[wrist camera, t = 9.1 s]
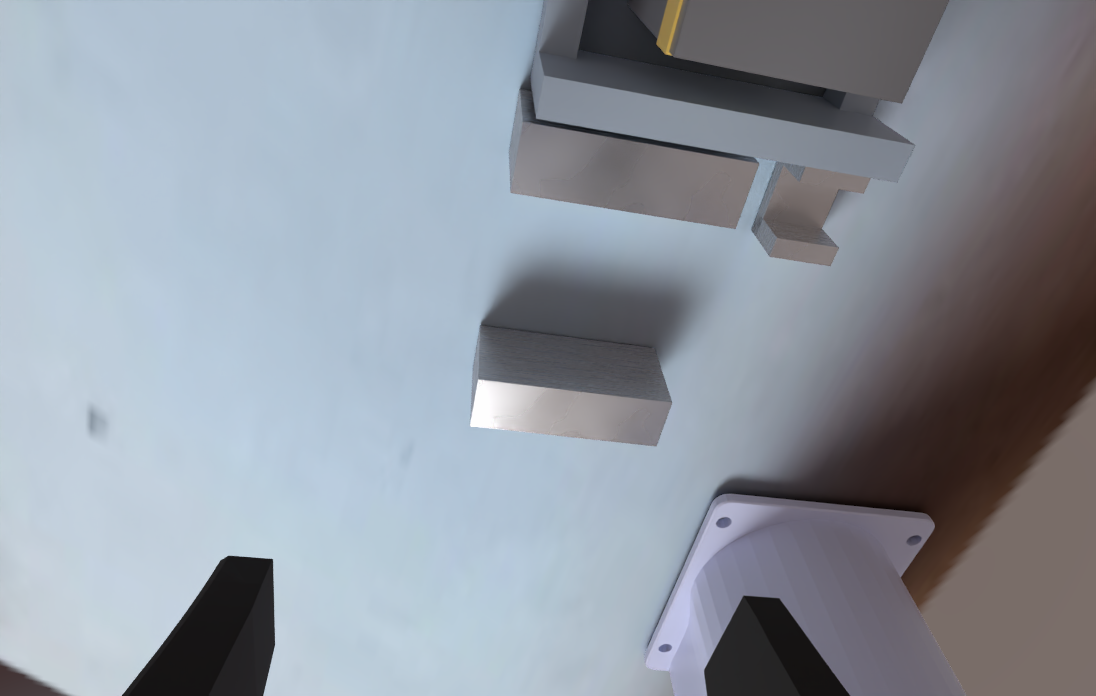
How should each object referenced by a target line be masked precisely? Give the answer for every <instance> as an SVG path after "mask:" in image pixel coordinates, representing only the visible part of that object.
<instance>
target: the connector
mask: <svg viewBox="0 0 1096 696" xmlns="http://www.w3.org/2000/svg"><path fill="white" fill-rule="evenodd" d="M948 2H949V0H628V4H627V5H628V7H629V8H630V9H631V10H632V11H633V12H634V13H635V14H636V16H637V17H638V18H639V19H640V20H641V21H642V22H643V23H644V24H645V26H646V27H647V28H648V29H649V30H650V31H651V32H652V33H653V34H654V36H655V37H656V38H657V43H656V44H657V45H658V47H659V48H660V49H661V50H662V51H663V52H664V54H666V55H671V56H673V57H675V58H680V59H685V60H690V61H695V62H700V63H705V64H710V65H715V66H720V67H725V68H729V69H734V70H739V71H744V72H749V73H754V74H759V75H764V76H769V77H774V78H779V79H784V80H788V81H793V82H798V83H803V84H808V85H813V86H818V87H823V88H828V89H833V90H838V91H843V92H848V93H852V94H857V95H862V96H867V97H872V98H877V99H882V100H887V101H892V102H897V103H902V102H903V100H904V98H905V96H906V94H907V91H908V89H909V87H910V85H911V83H912V80H913V78H914V76H915V74H916V72H917V70H918V67H919V65H920V63H921V61H922V59H923V57H924V54H925V52H926V50H927V48H928V46H929V43H930V41H931V39H932V37H933V35H934V33H935V30H936V28H937V26H938V24H939V22H940V19H941V17H942V15H943V13H944V11H945V9H946V6H947V4H948Z"/></svg>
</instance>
